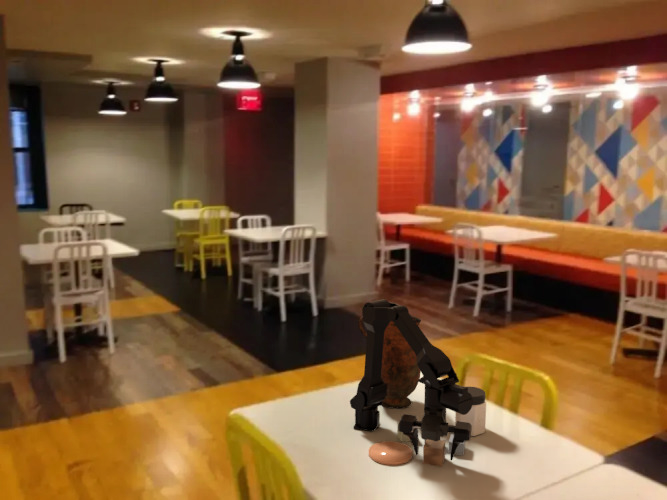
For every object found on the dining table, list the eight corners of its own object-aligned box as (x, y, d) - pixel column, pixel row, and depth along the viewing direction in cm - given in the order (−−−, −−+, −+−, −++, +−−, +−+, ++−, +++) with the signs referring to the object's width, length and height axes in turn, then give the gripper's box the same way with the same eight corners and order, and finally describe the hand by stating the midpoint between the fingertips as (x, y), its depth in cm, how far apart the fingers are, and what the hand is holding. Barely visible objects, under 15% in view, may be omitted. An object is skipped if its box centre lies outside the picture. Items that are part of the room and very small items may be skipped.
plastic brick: (448, 453, 172) (448, 441, 172) (450, 445, 177) (450, 434, 177) (463, 455, 171) (463, 443, 171) (465, 447, 176) (465, 435, 175)
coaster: (363, 461, 168) (363, 458, 168) (374, 441, 180) (374, 438, 179) (407, 468, 165) (407, 465, 164) (416, 447, 176) (416, 444, 176)
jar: (469, 438, 181) (470, 399, 179) (449, 428, 188) (450, 390, 186) (490, 431, 186) (492, 392, 184) (470, 421, 192) (472, 384, 190)
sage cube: (401, 441, 179) (401, 428, 179) (397, 435, 183) (397, 422, 183) (414, 440, 180) (415, 427, 180) (410, 434, 184) (410, 421, 183)
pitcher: (411, 416, 196) (413, 323, 191) (349, 405, 205) (349, 316, 200) (426, 397, 211) (428, 310, 206) (367, 388, 219) (367, 304, 215)
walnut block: (423, 464, 167) (423, 446, 166) (426, 455, 171) (426, 438, 171) (442, 467, 165) (442, 449, 164) (444, 458, 170) (445, 440, 169)
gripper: (393, 409, 161) (393, 466, 164) (467, 419, 155) (465, 477, 158) (403, 393, 171) (402, 446, 174) (472, 401, 166) (470, 457, 168)
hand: (434, 457), depth 168 cm, fingers open, 9 cm apart
